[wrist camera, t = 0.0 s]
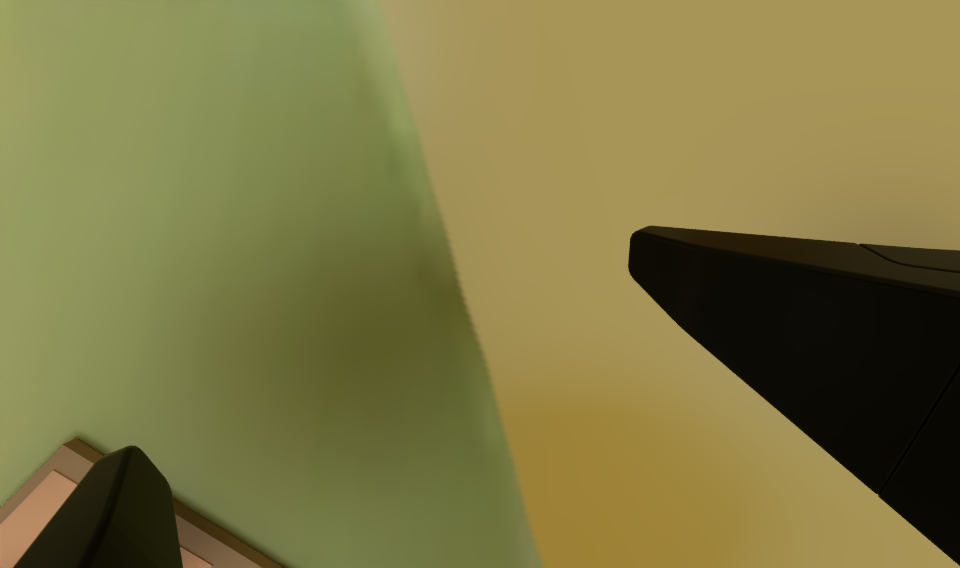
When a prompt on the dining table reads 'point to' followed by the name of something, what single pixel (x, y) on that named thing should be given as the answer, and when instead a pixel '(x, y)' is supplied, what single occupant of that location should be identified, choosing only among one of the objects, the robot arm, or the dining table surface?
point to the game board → (12, 528)
